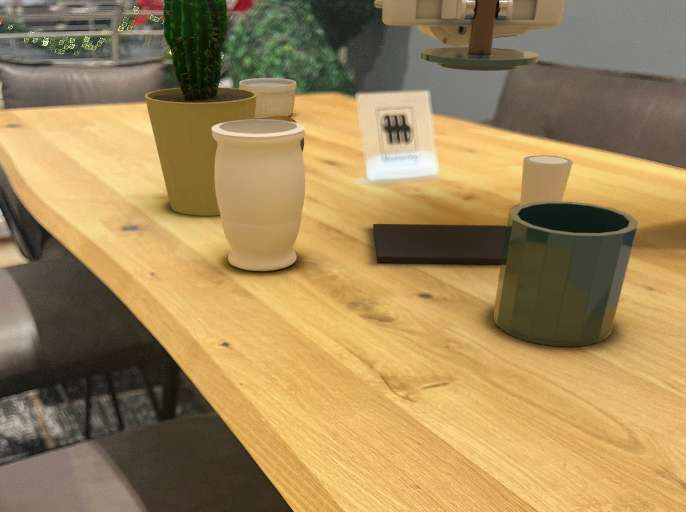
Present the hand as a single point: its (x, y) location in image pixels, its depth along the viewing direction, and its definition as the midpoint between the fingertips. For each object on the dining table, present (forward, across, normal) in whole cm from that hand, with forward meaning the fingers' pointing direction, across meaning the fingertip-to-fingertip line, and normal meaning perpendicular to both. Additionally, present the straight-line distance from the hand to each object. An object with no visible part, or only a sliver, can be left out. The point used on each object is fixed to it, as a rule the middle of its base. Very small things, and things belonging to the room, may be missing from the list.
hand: (487, 9), depth 80 cm
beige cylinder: (-21, +17, +26) cm, 37 cm away
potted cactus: (-25, -32, +26) cm, 48 cm away
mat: (-4, -1, +26) cm, 26 cm away
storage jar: (+21, +5, +26) cm, 34 cm away
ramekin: (-105, -22, +27) cm, 110 cm away
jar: (+1, -24, +26) cm, 36 cm away
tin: (-48, -24, +26) cm, 60 cm away
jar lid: (-1, 0, +5) cm, 5 cm away
